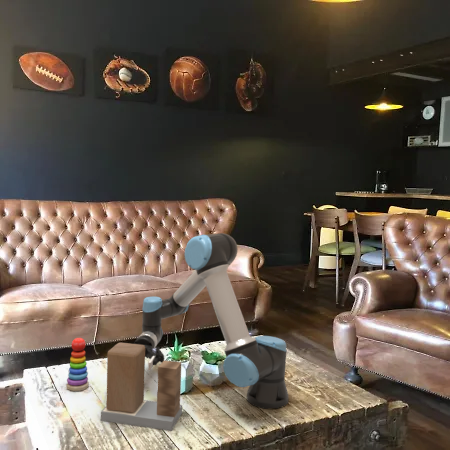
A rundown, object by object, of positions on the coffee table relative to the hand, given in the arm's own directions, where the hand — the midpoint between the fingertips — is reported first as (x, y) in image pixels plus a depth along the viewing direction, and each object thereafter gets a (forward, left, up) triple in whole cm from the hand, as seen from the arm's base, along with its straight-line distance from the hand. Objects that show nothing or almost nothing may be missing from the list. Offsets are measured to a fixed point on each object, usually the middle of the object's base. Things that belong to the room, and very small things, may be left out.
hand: (129, 365), depth 170 cm
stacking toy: (+25, -11, -16) cm, 31 cm away
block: (0, +4, -13) cm, 13 cm away
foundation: (-6, +4, -16) cm, 17 cm away
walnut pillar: (-15, +4, -13) cm, 20 cm away
